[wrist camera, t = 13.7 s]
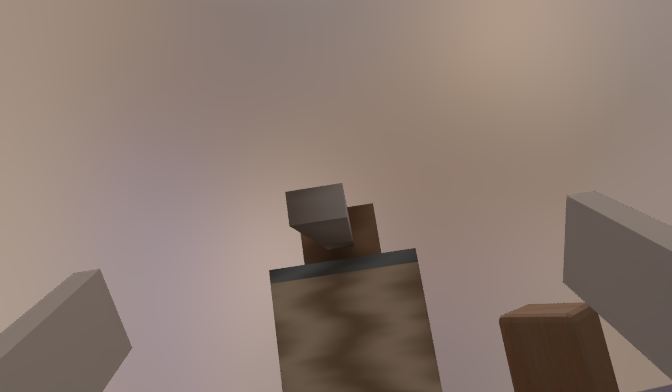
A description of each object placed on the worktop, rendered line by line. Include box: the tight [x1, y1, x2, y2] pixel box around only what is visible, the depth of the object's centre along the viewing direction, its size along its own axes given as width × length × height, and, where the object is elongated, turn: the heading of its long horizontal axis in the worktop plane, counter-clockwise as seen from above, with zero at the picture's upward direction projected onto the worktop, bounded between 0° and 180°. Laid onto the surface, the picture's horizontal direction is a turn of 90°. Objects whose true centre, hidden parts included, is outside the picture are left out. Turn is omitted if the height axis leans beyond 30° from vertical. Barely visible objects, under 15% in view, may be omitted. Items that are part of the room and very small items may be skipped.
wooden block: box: [499, 302, 619, 392], centre depth 51 cm, size 10×10×20 cm
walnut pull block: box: [286, 183, 381, 265], centre depth 25 cm, size 6×24×5 cm, turn 176°
